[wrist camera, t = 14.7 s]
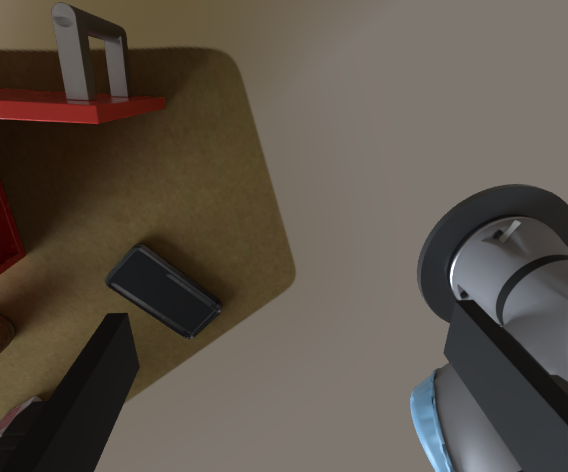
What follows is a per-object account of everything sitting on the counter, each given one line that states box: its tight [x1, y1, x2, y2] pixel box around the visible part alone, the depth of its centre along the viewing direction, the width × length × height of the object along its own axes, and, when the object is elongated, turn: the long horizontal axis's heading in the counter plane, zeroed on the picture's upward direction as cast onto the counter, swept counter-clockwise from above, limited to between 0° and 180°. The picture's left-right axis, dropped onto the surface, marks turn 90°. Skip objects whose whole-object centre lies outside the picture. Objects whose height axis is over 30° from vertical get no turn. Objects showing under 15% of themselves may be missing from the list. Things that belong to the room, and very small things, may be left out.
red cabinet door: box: [0, 2, 166, 124], centre depth 29 cm, size 8×20×18 cm, turn 87°
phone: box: [105, 244, 222, 339], centre depth 49 cm, size 8×1×15 cm
